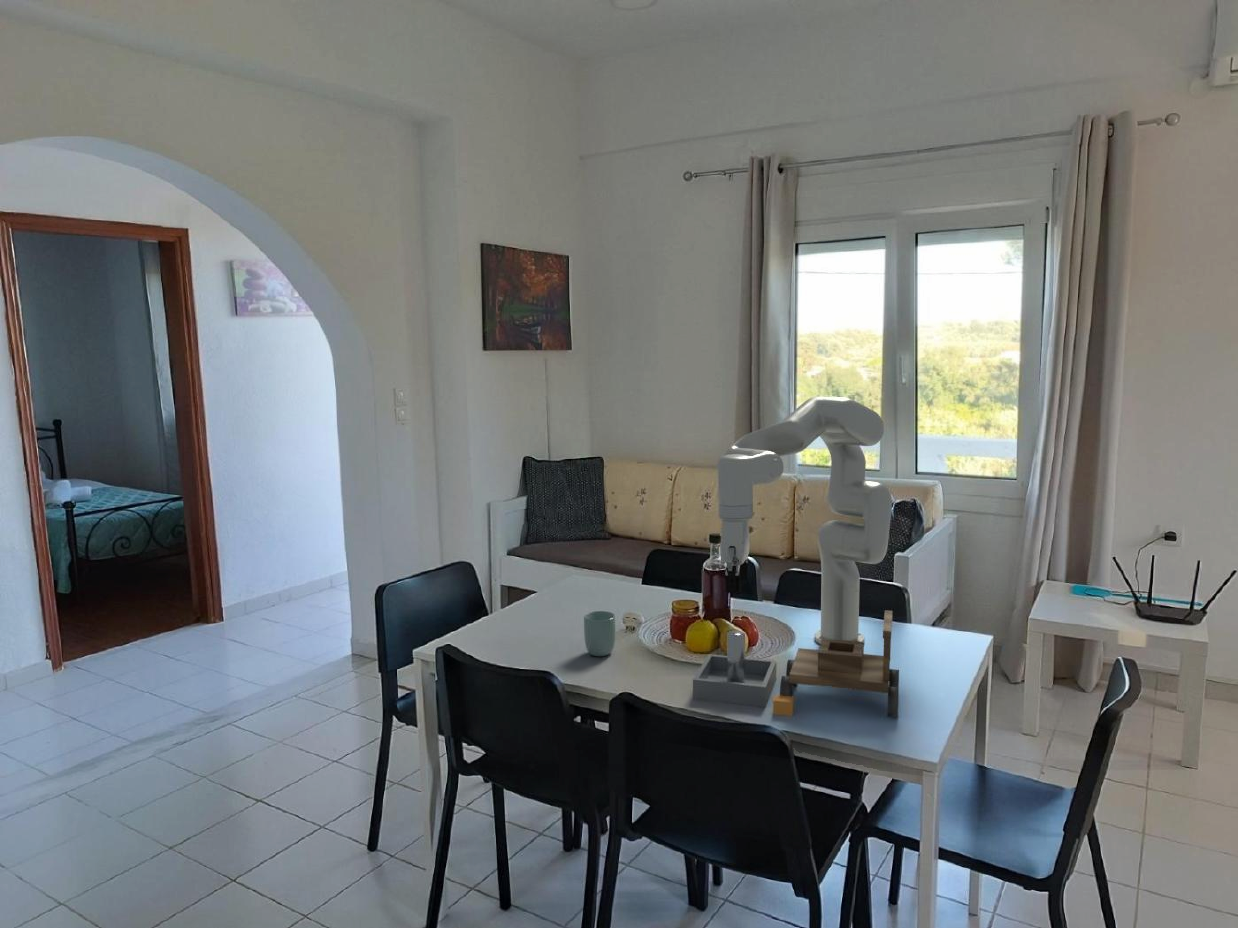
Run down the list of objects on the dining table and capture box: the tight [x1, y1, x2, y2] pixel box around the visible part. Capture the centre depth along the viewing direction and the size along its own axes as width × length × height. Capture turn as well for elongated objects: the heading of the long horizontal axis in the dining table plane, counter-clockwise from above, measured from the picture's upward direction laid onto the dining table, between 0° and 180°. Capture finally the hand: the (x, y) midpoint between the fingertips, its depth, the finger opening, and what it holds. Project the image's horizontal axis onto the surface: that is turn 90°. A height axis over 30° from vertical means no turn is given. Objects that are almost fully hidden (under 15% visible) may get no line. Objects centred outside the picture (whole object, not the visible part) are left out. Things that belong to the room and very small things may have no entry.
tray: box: [692, 653, 777, 708], centre depth 198 cm, size 16×16×4 cm
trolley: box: [779, 610, 900, 718], centre depth 190 cm, size 16×24×19 cm, turn 72°
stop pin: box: [726, 630, 746, 683], centre depth 197 cm, size 4×4×12 cm
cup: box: [583, 610, 617, 657], centre depth 221 cm, size 8×8×10 cm
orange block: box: [772, 694, 795, 717], centre depth 186 cm, size 3×4×3 cm
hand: (737, 585), depth 195 cm, fingers open, 9 cm apart
